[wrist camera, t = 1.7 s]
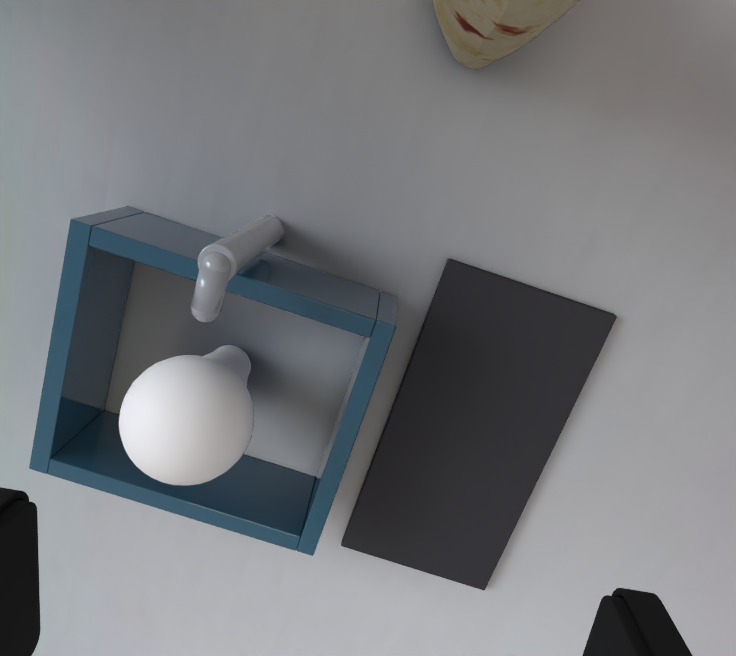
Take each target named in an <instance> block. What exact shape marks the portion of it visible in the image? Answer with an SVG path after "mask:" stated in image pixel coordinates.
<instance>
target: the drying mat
mask: <svg viewBox="0 0 736 656" xmlns="http://www.w3.org/2000/svg"><path fill="white" fill-rule="evenodd" d="M616 318H617V317H616V316H615V315H614V314H612V313H609V312H606V311H603V310H601V309H598V308H595V307H592V306H589V305H586V304H583V303H580V302H577V301H574V300H571V299H568V298H565V297H562V296H559V295H556V294H553V293H550V292H547V291H544V290H541V289H538V288H535V287H532V286H529V285H527V284H524V283H521V282H518V281H515V280H512V279H509V278H506V277H503V276H500V275H497V274H494V273H491V272H488V271H485V270H482V269H479V268H476V267H473V266H470V265H467V264H464V263H461V262H458V261H456V260H453V259H450V258H449V259H448V260H447V263H446V266H445V268H444V271H443V273H442V276H441V279H440V281H439V284H438V287H437V289H436V292H435V295H434V297H433V300H432V303H431V305H430V308H429V311H428V313H427V316H426V319H425V321H424V324H423V327H422V329H421V332H420V335H419V337H418V340H417V342H416V345H415V348H414V350H413V353H412V356H411V358H410V361H409V364H408V366H407V369H406V372H405V374H404V377H403V380H402V382H401V385H400V388H399V390H398V393H397V396H396V398H395V401H394V404H393V406H392V409H391V411H390V414H389V417H388V419H387V422H386V425H385V427H384V430H383V433H382V435H381V438H380V441H379V443H378V446H377V449H376V451H375V454H374V457H373V459H372V462H371V465H370V467H369V470H368V472H367V475H366V478H365V480H364V483H363V486H362V488H361V491H360V494H359V496H358V499H357V502H356V504H355V507H354V510H353V512H352V515H351V518H350V520H349V523H348V526H347V528H346V531H345V534H344V536H343V539H342V544H341V546H343V547H347V548H350V549H353V550H356V551H359V552H363V553H366V554H369V555H372V556H375V557H379V558H382V559H385V560H388V561H392V562H395V563H398V564H401V565H404V566H408V567H411V568H414V569H417V570H420V571H424V572H427V573H430V574H433V575H437V576H440V577H443V578H446V579H449V580H453V581H456V582H459V583H462V584H466V585H469V586H472V587H475V588H478V589H482V590H485V588H486V586H487V584H488V582H489V580H490V578H491V576H492V574H493V571H494V569H495V567H496V565H497V563H498V561H499V559H500V557H501V555H502V553H503V551H504V549H505V547H506V545H507V543H508V541H509V538H510V536H511V534H512V532H513V530H514V528H515V526H516V524H517V522H518V520H519V518H520V516H521V514H522V512H523V510H524V507H525V505H526V503H527V501H528V499H529V497H530V495H531V493H532V491H533V489H534V487H535V485H536V483H537V481H538V479H539V477H540V474H541V472H542V470H543V468H544V466H545V464H546V462H547V460H548V458H549V456H550V454H551V452H552V450H553V448H554V446H555V444H556V441H557V439H558V437H559V435H560V433H561V431H562V429H563V427H564V425H565V423H566V421H567V419H568V417H569V415H570V413H571V411H572V408H573V406H574V404H575V402H576V400H577V398H578V396H579V394H580V392H581V390H582V388H583V386H584V384H585V382H586V380H587V377H588V375H589V373H590V371H591V369H592V367H593V365H594V363H595V361H596V359H597V357H598V355H599V353H600V351H601V349H602V347H603V344H604V342H605V340H606V338H607V336H608V334H609V332H610V330H611V328H612V326H613V324H614V322H615V320H616Z"/></svg>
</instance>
